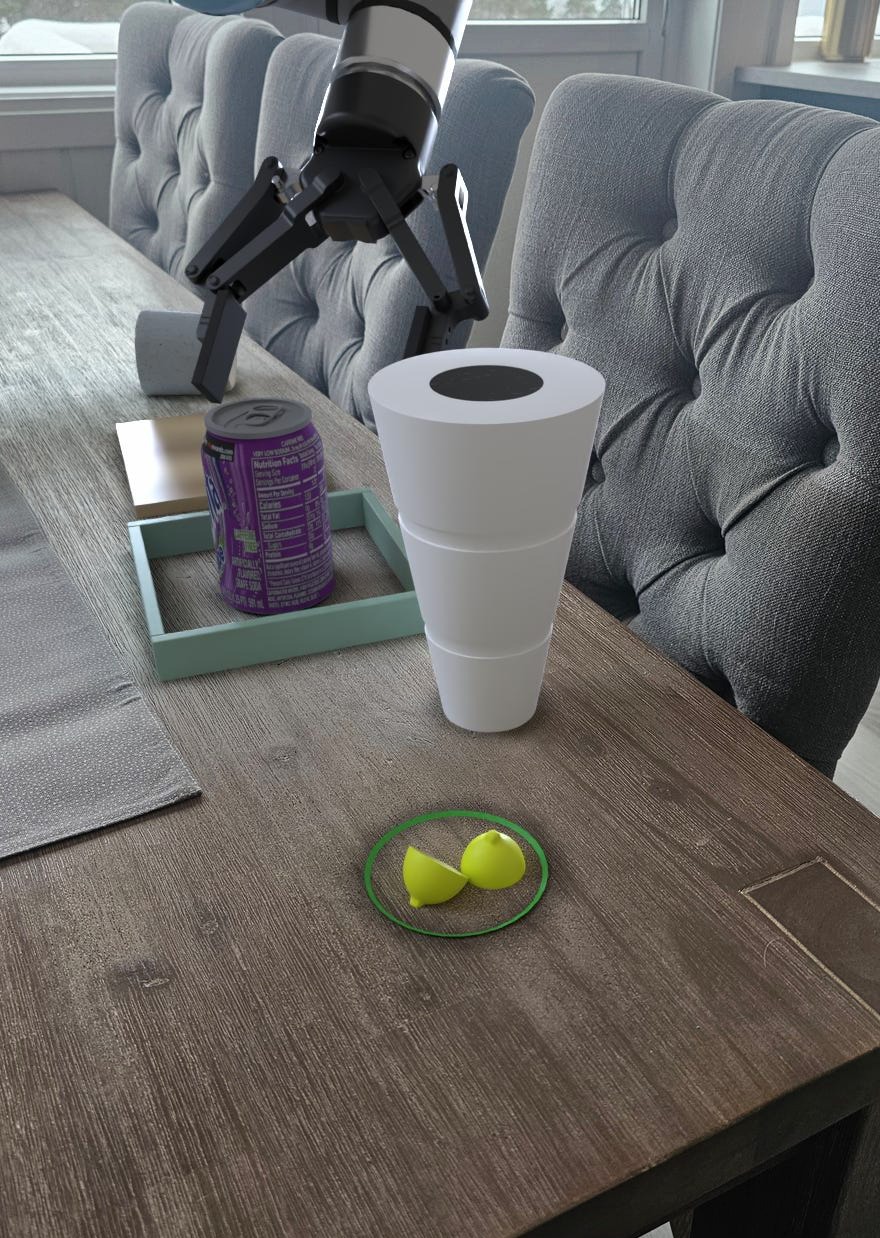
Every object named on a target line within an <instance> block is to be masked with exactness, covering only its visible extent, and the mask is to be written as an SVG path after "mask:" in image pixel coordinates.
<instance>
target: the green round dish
mask: <svg viewBox="0 0 880 1238" xmlns="http://www.w3.org/2000/svg"><path fill="white" fill-rule="evenodd" d="M449 817H470V818H476V819H483V820H488V821H490V822H494V823H498V824H500V825H503V826H505V827H507V828H509V829H511V830H513V831H514V832H515V833H517V834H519V835H520V836H522V837H523V838H524V839H525V840H526V842H528V844H530V845H531V846H532V848H533V850H534V851H535V853H536V854H537V855H538V858H539V862H540V864H541V873H542V875H541V876H542V877H541V878H542V879H541V882H540V886H539V890H538V892H537V893H536V895H535V897H534V899H533V900H532V902H530V904H529V905H528V906H527V907H526V908H525V909H524V910H523V911H522V912H520V913H519V914H518V915H516V916H515V917H514V918H512V919H511V920H509V921H506V922H504V923H502V924H499V925H498V926H496V927H492V928H489V929H485V930H481V931H478V932H477V931H476V932H471V933H461V934H456V933H455V934H452V933H451V934H450V933H448V934H447V933H446V934H444V933H437V932H432V931H426V930H422V929H419V928H416V927H414V926H410V925H408V924H406V923H404V922H402V921H400V920H398V919H397V918H395V917H394V916H393V915H391V914H390V913H389V912H388V911H386V909H385V908H384V907H383V906H382V904H381V903H380V902H379V901H378V900H377V898H376V895H375V893H374V891H373V888H372V882H371V871H372V865H373V863H374V861H375V859H376V856H377V855H378V853H379V851H380V850H382V848H383V846H384V845H385V844H387V842H389V841H390V840H391V839H392V838H393V837H395V835H397V834H399V833H400V832H402V831H404V830H405V829H407V828H409V827H413V826H414V825H417V824H420V823H422V822H423V823H424V822H426V821H430V820H434V819H439V818H441V819H442V818H449ZM526 866H527V865H526V860H525V857H524V854H523V852H522V849H521V848H520V846H519V845H518V843H517V842H516V841H515V840H514V839H512V838H511V837H510V836H509V835H506V833H502V832H499V831H497V830H495V829H490V830H488V831H487V832H483V833H481V834H479V835H478V836H477V835H476V837H474V838H473V839H472V840H471V841H470V843H468V845H467V846H466V848H465V850H464V852H463V854H462V856H461V861H460V871H459V870H458V869H456V868H454V867H453V866H451V865H449V864H447V863H446V862H444V861H441V860H440V859H438V858H437V857H434V856H432V855H431V854H429V853H427V852H426V851H424V850H421V849H420V848H418V847H415V846H412V845H409V846H408V849H407V851H406V853H405V856H404V860H403V866H402V877H403V882H404V886H405V888H406V890H407V892H408V894H409V895H410V899H409V904H410V906H411V907H413V908H416V909H419V908H421V907H422V906H425V905H438V904H442V903H445V902H447V901H449V900H450V899H452V898H454V897H455V896H457V895H458V894H459V893H460V892H461V891H462V890H463V888H464V887H465V886H466V884H467V883H469V884H471V885H473V886H474V887H477V888H480V889H484V890H502V889H505V888H509V887H512V886H513V885H515V884H516V883H518V882H519V881H520V880H521V879H522V878H523V877H524V874H525V873H526V868H527V867H526ZM548 867H549V866H548V861H547V857H546V855H545V851H544V850H543V849H542V847H541V845H540V844H539V842H538V841H537V840H536V839H535V838H534V837H533V836H532V835H531V834H530V833H529V832H528V831H527V830H525V829H524V828H523V827H521V826H519V825H517V824H516V823H514V822H512V821H510V820H508V819H505V818H503V817H500V816H497V815H493V814H490V813H486V812H481V811H473V810H472V811H471V810H446V811H437V812H432V813H428V814H424V815H419V816H417V817H415V818H411V819H410V820H407V821H405V822H402V823H401V824H399V825H398V826H396V827H394V828H393V829H391V830H390V831H388V832H387V833H386V834H385V835H383V836H382V838H380V839H379V840H378V841H377V843H376V844H375V846H374V847H373V848H372V849H371V851H370V853H369V855H368V857H367V860H366V861H365V867H364V873H363V877H364V885H365V888H366V891H367V893H368V895H369V899H370V900H371V901H372V903H373V904H374V905H375V906H376V907H377V909H378V910H379V911H380V912H381V913H382V914H384V915H385V916H386V917H388V918H389V919H390V920H391V921H393V922H395V923H397V924H399V925H400V926H403V927H404V928H407V929H409V930H413V931H415V932H418V933H421V934H426V935H432V936H440V937H467V936H475V935H481V934H485V933H488V932H491V931H496V930H498V929H501V928H503V927H505V926H507V925H509V924H511V923H514V922H516V921H517V920H518V919H520V918H521V917H523V916H524V915H525V914H527V913H528V912H529V911H530V910H532V908H533V907H534V906H535V905H536V904H537V902H538V901H539V900H540V899H541V897H542V894H543V893H544V891H545V890H546V886H547V882H548V878H549V868H548Z"/></svg>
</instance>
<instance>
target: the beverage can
mask: <svg viewBox="0 0 880 1238" xmlns="http://www.w3.org/2000/svg"><path fill="white" fill-rule="evenodd" d="M206 413H207V414H206V415H205V417H204V423H205V427H206V432H205V435H204V438H203V441H202V444H201V459H202V465H203V472H204V479H205V485H206V492H207V499H208V505H209V508H208V511H209V512H210V519H211V525H212V532H213V539H214V546H215V549H214V551H215V559H216V565H217V571H218V579H219V584H220V585H219V586H220V591H221V592H220V593H221V596H222V598H223V600H224V601H225V602H226V603H227V604H228V605H230V606H231V607H232V608H235V609H237V610H239V611H243V612H247V613H252V614H259V615H278V614H284V613H290V612H296V611H301V610H306V609H309V608H310V607H312V606H315V605H317V604H318V603H320V602H322V601H324V600H325V599H327V598H328V597H329V596H330V595H331V594H332V592H333V591H334V589H335V586H336V579H335V567H334V566H335V565H334V555H333V543H332V533H331V532H332V531H330V521H329V510H328V499H327V493H328V491H327V488H326V478H327V477H325V476H326V468H325V467H326V466H325V457H324V455H325V454H324V445H323V439H322V436H321V434H320V433H319V431H318V429H317V428H316V426H315V425H314V423H313V421H312V419H313V412H312V409H311V407H310V406H309V405H308V404H306V403H304V402H302V401H299V400H295V399H291V398H285V397H275V396H274V397H272V396H271V397H270V396H269V397H268V396H267V397H266V396H263V397H251V398H249V397H248V398H242V399H238V400H232V401H229V402H225V403H223V404H222V403H221V404H220V405H219V404H218V405H217V406H215V407H213V408H212V409H210V410H208V411H207V412H206Z"/></svg>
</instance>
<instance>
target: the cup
mask: <svg viewBox="0 0 880 1238" xmlns="http://www.w3.org/2000/svg"><path fill="white" fill-rule="evenodd" d="M605 391H606V380H605V378H604V377H603V375H602V374H601V373H600V372H599V370H596V369H595V368H594V367H592V366H591V365H589V364H588V363H585V362H582V361H581V360H577V359H575V358H571V357H568V356H565V355H560V354H556V353H551V352H547V351H546V352H545V351H539V350H534V349H533V350H532V349H523V348H522V349H521V348H510V347H509V348H508V347H506V348H505V347H472V348H471V347H470V348H461V349H460V348H458V349H449V350H447V351H440V352H434V353H428V354H423V355H419V356H415V357H411V358H407V359H404V360H402V359H401V360H398V361H396V362H393V363H391V364H389V365H386V366H384V367H383V368H381V369H380V370H378V371H377V372H375V373H374V374H373V375H372V376H371V378H370V379H369V381H368V383H367V392H368V397H369V401H370V406H371V410H372V414H373V418H374V423H375V427H376V432H377V435H378V439H379V444H380V448H381V453H382V456H383V461H384V466H385V469H386V474H387V478H388V483H389V486H390V490H391V494H392V500H393V503H394V505H395V507H396V509H397V510H398V513H397V517H398V518H397V519H398V524H399V527H400V528H399V529H400V531H401V533H402V536H403V540H404V544H405V549H406V553H407V557H408V561H409V565H410V569H411V573H412V578H413V582H414V586H415V590H416V594H417V598H418V602H419V607H420V611H421V615H422V618H423V620H424V622H425V633H424V634H425V637H426V642H427V647H428V651H429V655H430V659H431V663H432V667H433V668H432V669H433V672H434V676H435V680H436V685H437V689H438V694H439V698H440V702H441V706H442V707H441V708H442V710H443V714H444V715H445V717H446V718H447V719H448V720H449V721H450V722H451V723H452V724H454V725H456V726H457V727H459V728H462V729H465V730H468V731H472V732H476V733H477V732H478V733H499V732H507V731H510V730H514V729H516V728H518V727H521V726H522V725H525V723H527V722H528V721H530V720H531V719H532V717H534V714H535V713H536V710H537V706H538V705H537V704H538V700H539V696H540V691H541V686H542V682H543V676H544V672H545V667H546V663H547V658H548V653H549V650H550V649H549V648H550V644H551V639H552V634H553V630H554V629H553V628H554V624H553V621H554V619H555V618H556V614H557V609H558V605H559V601H560V596H561V591H562V586H563V583H564V578H565V574H566V569H567V564H568V561H569V556H570V552H571V548H572V542H573V538H574V533H575V530H576V529H575V528H576V525H577V520H578V510H577V509H578V507H579V506H580V504H581V501H582V498H583V493H584V488H585V484H586V480H587V475H588V470H589V466H590V461H591V455H592V451H593V446H594V442H595V437H596V432H597V428H598V423H599V419H600V414H601V409H602V405H603V400H604V396H605Z"/></svg>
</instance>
